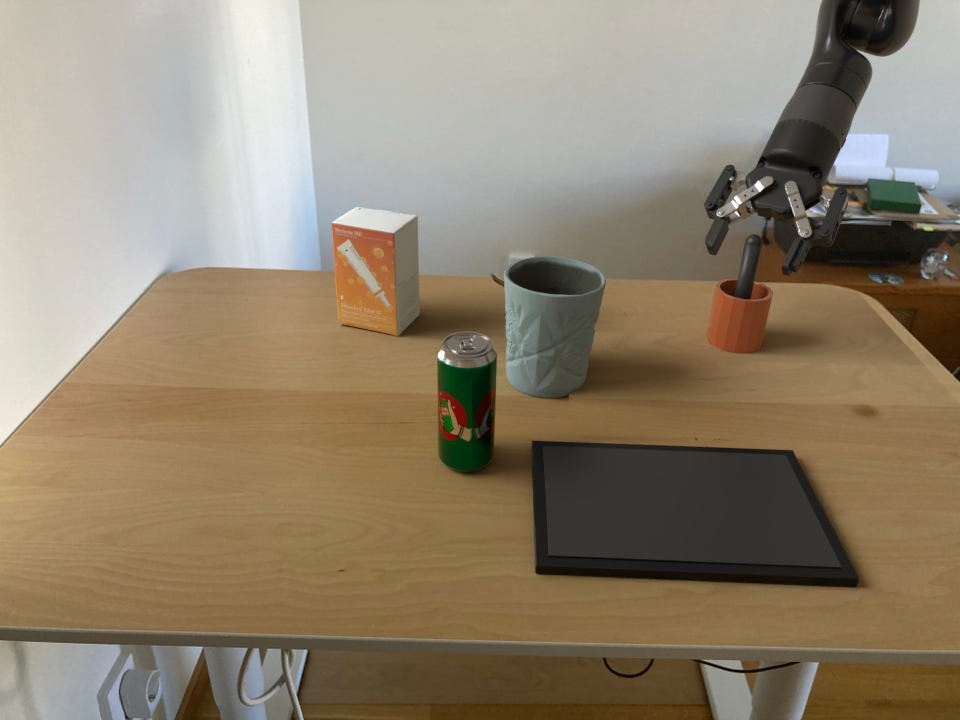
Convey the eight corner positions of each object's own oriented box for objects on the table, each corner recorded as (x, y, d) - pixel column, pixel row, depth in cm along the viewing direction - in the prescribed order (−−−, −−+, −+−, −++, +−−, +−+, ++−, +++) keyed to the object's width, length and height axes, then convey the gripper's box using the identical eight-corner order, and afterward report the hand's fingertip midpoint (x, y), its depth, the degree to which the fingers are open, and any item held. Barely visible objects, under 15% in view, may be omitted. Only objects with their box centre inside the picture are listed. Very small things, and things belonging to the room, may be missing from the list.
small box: (337, 325, 93) (329, 221, 87) (363, 304, 98) (356, 204, 92) (398, 337, 91) (394, 232, 84) (421, 315, 96) (419, 214, 89)
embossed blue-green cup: (484, 365, 85) (486, 264, 79) (561, 346, 89) (569, 249, 84) (531, 411, 78) (537, 303, 72) (613, 388, 82) (626, 284, 76)
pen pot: (752, 332, 93) (764, 279, 90) (767, 357, 88) (780, 302, 85) (700, 330, 94) (710, 277, 90) (712, 355, 88) (722, 300, 85)
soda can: (488, 439, 73) (491, 327, 67) (498, 472, 69) (502, 355, 63) (435, 444, 73) (433, 331, 67) (442, 478, 68) (441, 360, 62)
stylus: (739, 336, 91) (761, 232, 85) (743, 344, 90) (766, 237, 83) (724, 336, 91) (744, 231, 85) (727, 343, 90) (749, 237, 83)
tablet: (790, 457, 72) (793, 448, 71) (856, 587, 58) (860, 577, 57) (531, 447, 72) (531, 438, 72) (535, 574, 58) (535, 564, 58)
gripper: (741, 107, 88) (680, 230, 86) (873, 128, 80) (809, 263, 78) (751, 145, 94) (694, 260, 92) (874, 168, 86) (815, 294, 84)
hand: (747, 261), depth 85 cm, fingers open, 8 cm apart
